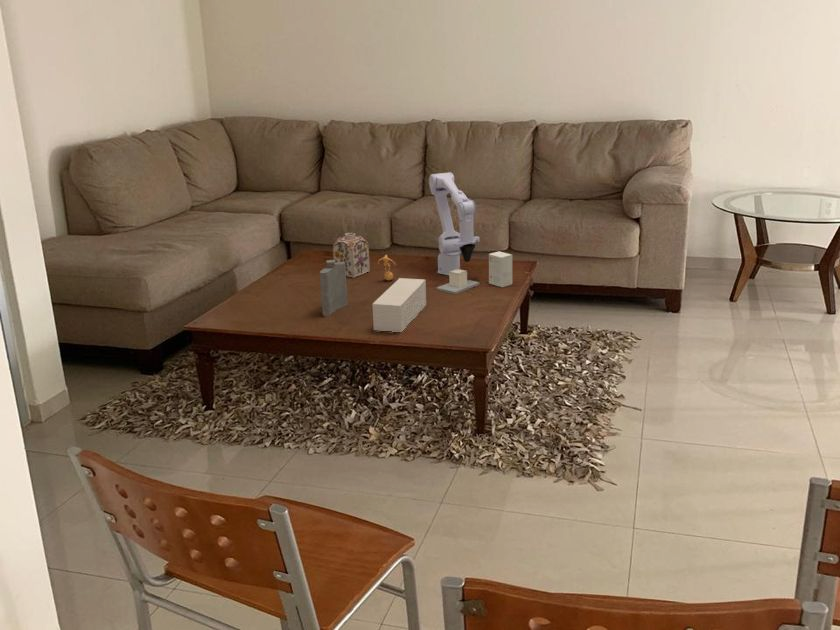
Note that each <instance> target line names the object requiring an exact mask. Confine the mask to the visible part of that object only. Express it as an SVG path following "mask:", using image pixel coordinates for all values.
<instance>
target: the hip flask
mask: <svg viewBox="0 0 840 630" xmlns="http://www.w3.org/2000/svg"><path fill="white" fill-rule="evenodd" d="M325 263H326V267H324V268H323V269H321V270H320V271H319V279H320V294H321V295H320V297H321V309H322V316H323V315H330V314H331V313H332V312H334V311H335V310H337V309H339V308H341V307H343V308H345V307H347V306H348V305H349V303H348V288H347V285H348V284H347V277H346V268H345V262H338V263H335V260H334V259H329V260H328V259H327V260H326V262H325ZM346 305H347V306H346ZM344 306H345V307H344ZM341 309H342V308H341ZM339 310H340V309H339ZM337 311H338V310H337ZM335 312H336V311H335ZM335 312H334V313H335ZM330 316H331V315H330Z"/></svg>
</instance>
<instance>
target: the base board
mask: <svg viewBox="0 0 840 630" xmlns="http://www.w3.org/2000/svg"><path fill="white" fill-rule="evenodd" d="M479 285H480V282H479V281H475V280H471V279H467V285H465V286H462V287H460V288H459V287H454V286H450V282H447V283H445V284H443V285H439V286H437V287H436V290H437V291H439V290H440V292H444V293H448V294H452V295H457V294H460V293H463V292H465V291H468V290H470V289H472V288H475V287H476V286H477V287H478V286H479ZM474 286H475V287H474ZM469 288H470V289H469Z"/></svg>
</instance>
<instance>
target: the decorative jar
mask: <svg viewBox="0 0 840 630" xmlns="http://www.w3.org/2000/svg"><path fill="white" fill-rule="evenodd" d="M332 255H333V257H332V258H333V260H335V263H338V262H345V268H346V276H347V277H346V278H351V277H352V279H355V278H358V277H359V276H360V277H361V276H363V275H365V274H368V273H370V272H371V269H370V268H371V267H370V266H371V265H370V264H371V263H370V250H369V243H368V241H367V240H366V239H365V238H364V237H363V236H361V235H356V233H354V232H347V233H344V236H341V237H338V238H337V240H335V242H334V243H333V245H332ZM367 272H368V273H367ZM357 276H358V277H357Z"/></svg>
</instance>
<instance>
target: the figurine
mask: <svg viewBox="0 0 840 630" xmlns="http://www.w3.org/2000/svg"><path fill="white" fill-rule="evenodd" d="M377 261H378V262H377V265H380V261H383V266H384V270H385V272H384V274H383V278H384V279H385V280H386V281H391V280H393V278H394V274H393V272H391V271H390V270H391V265H390V262H391V263H393V264H394V265H395V266H397V264H396V262H395V261H394V260H393V259H391V258H389V257H388V254H385V255H384V256H383V257H381V258H379V259H378V260H377ZM387 267H388V269H387Z"/></svg>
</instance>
